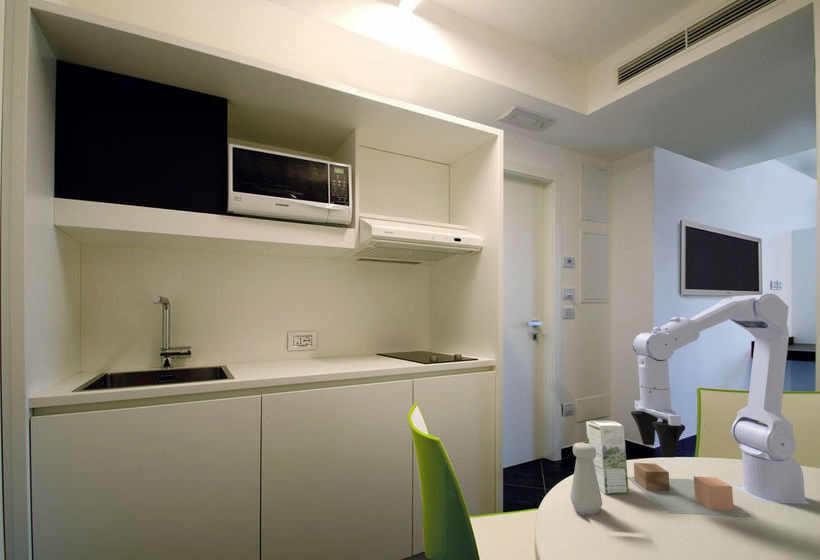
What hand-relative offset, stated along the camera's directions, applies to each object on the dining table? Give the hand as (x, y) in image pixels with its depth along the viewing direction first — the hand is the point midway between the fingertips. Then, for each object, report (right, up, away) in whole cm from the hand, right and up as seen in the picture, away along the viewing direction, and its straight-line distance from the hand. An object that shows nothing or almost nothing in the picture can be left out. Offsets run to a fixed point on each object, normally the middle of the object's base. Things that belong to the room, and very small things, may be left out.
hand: (657, 450), depth 85 cm
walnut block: (+1, -9, +3) cm, 10 cm away
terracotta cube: (+8, -9, -5) cm, 13 cm away
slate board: (+4, -10, -1) cm, 11 cm away
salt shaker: (-19, -9, -8) cm, 22 cm away
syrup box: (-10, -10, +1) cm, 14 cm away
